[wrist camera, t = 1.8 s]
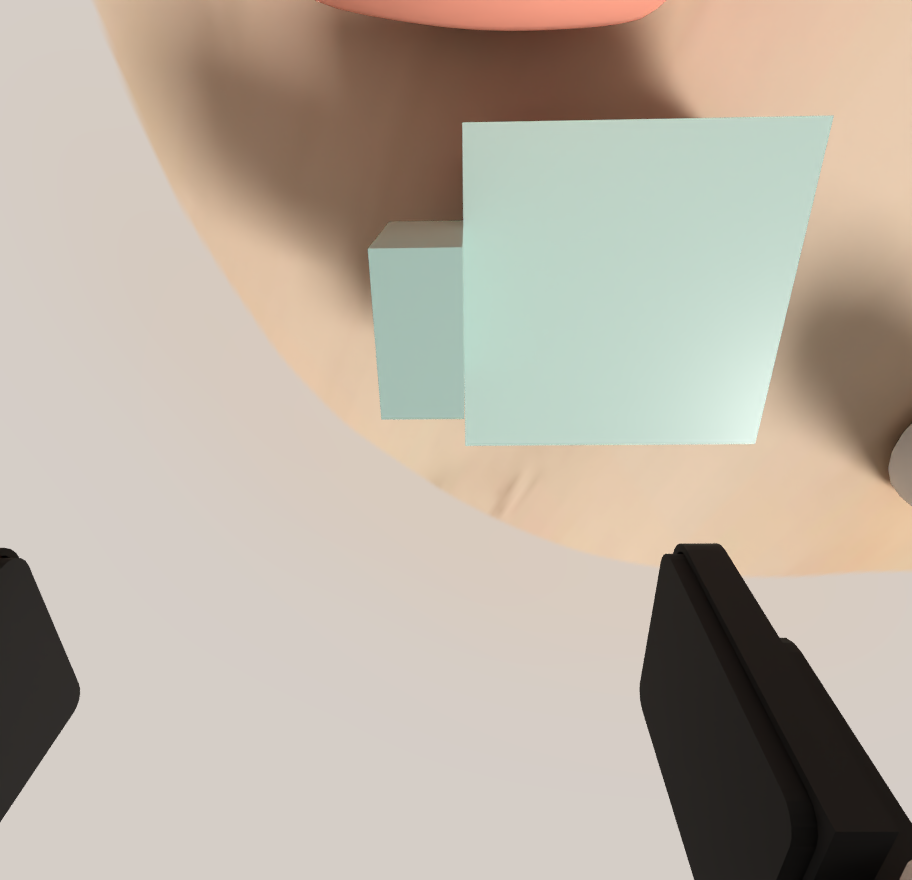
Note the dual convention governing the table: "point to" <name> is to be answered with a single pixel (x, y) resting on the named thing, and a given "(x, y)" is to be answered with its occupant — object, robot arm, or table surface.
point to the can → (902, 466)
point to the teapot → (503, 12)
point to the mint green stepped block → (600, 281)
